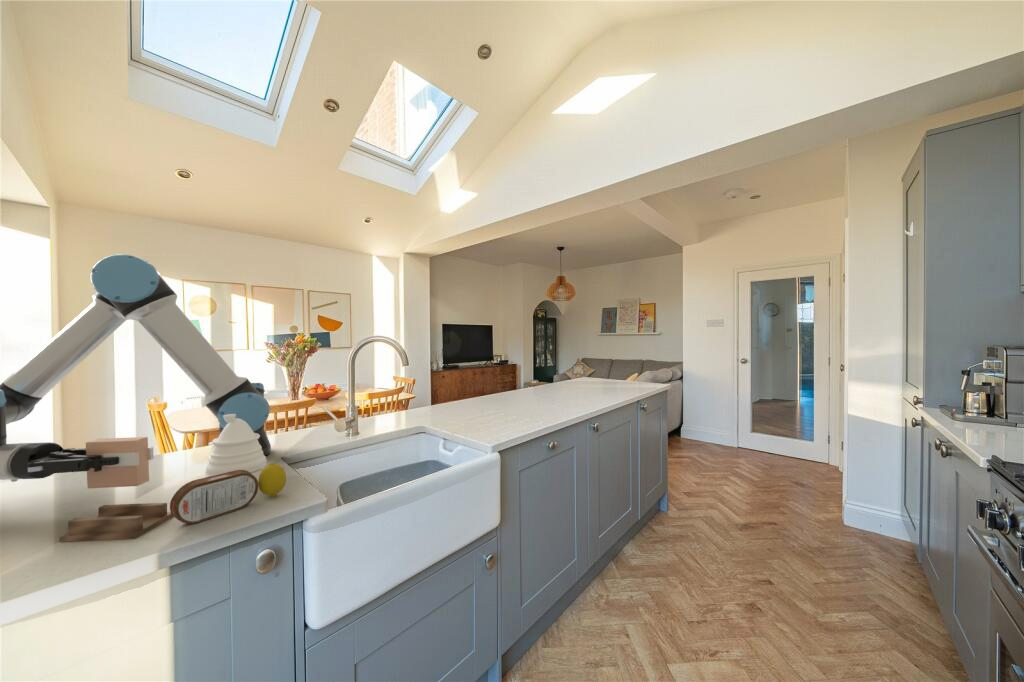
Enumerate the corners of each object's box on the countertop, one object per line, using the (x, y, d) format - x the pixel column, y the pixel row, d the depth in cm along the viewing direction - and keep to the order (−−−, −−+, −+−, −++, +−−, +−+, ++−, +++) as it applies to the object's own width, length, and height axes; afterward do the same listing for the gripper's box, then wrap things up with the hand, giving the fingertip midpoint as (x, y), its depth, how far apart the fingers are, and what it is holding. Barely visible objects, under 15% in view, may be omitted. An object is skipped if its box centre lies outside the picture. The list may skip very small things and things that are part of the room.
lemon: (262, 493, 92) (262, 460, 92) (288, 491, 94) (288, 458, 93) (255, 503, 87) (254, 468, 86) (282, 500, 88) (282, 465, 88)
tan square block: (87, 488, 83) (85, 442, 82) (101, 483, 86) (99, 438, 85) (137, 486, 84) (135, 440, 83) (149, 480, 86) (147, 436, 86)
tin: (254, 500, 88) (254, 464, 88) (260, 504, 86) (260, 466, 86) (169, 527, 76) (168, 485, 76) (174, 532, 74) (174, 488, 74)
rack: (59, 541, 70) (59, 524, 70) (106, 518, 79) (106, 502, 79) (135, 538, 72) (135, 520, 72) (173, 516, 80) (173, 500, 80)
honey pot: (235, 494, 92) (234, 419, 91) (191, 490, 94) (190, 417, 94) (278, 475, 104) (277, 409, 104) (238, 472, 107) (238, 408, 107)
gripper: (68, 465, 91) (174, 460, 93) (-20, 493, 75) (110, 487, 77) (67, 434, 91) (173, 430, 93) (-21, 455, 75) (109, 450, 77)
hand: (144, 456), depth 85 cm, fingers closed on tan square block, 3 cm apart
